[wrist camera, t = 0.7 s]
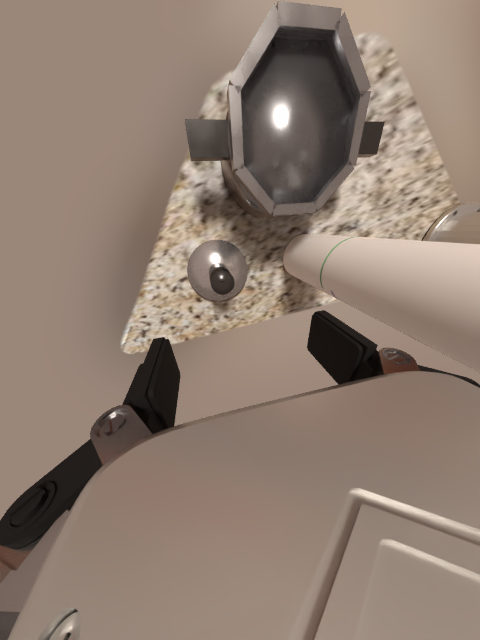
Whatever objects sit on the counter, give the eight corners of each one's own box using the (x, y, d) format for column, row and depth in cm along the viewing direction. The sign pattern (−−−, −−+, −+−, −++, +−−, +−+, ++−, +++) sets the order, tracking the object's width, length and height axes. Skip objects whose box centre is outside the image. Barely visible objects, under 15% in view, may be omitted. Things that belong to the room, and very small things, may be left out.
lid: (244, 236, 27) (257, 239, 21) (247, 294, 32) (258, 310, 26) (181, 242, 26) (175, 247, 20) (194, 302, 30) (193, 320, 24)
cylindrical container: (298, 283, 33) (487, 392, 11) (274, 258, 29) (477, 343, 8) (327, 253, 31) (616, 313, 9) (305, 223, 28) (669, 211, 6)
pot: (352, 85, 21) (426, 16, 14) (331, 213, 28) (374, 209, 21) (177, 76, 18) (163, -16, 11) (200, 223, 25) (201, 221, 18)
